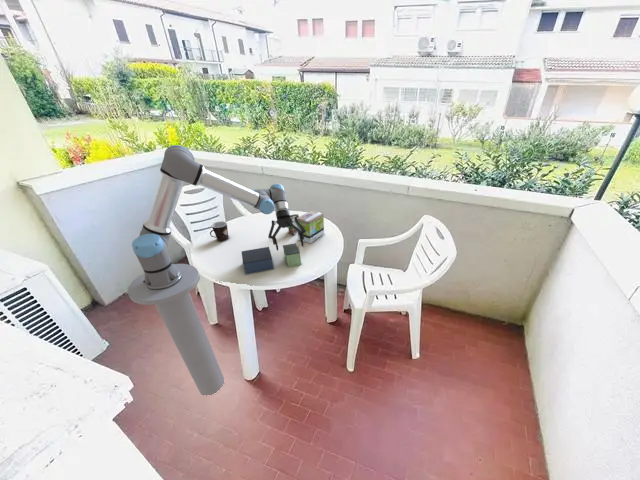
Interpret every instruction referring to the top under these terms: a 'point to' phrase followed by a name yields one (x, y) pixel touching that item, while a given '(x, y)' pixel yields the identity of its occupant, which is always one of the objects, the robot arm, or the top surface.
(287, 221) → the robot arm
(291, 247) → the green box
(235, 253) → the top surface
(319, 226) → the tea box
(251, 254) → the blue tub
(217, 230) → the coffee mug
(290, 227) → the food container
